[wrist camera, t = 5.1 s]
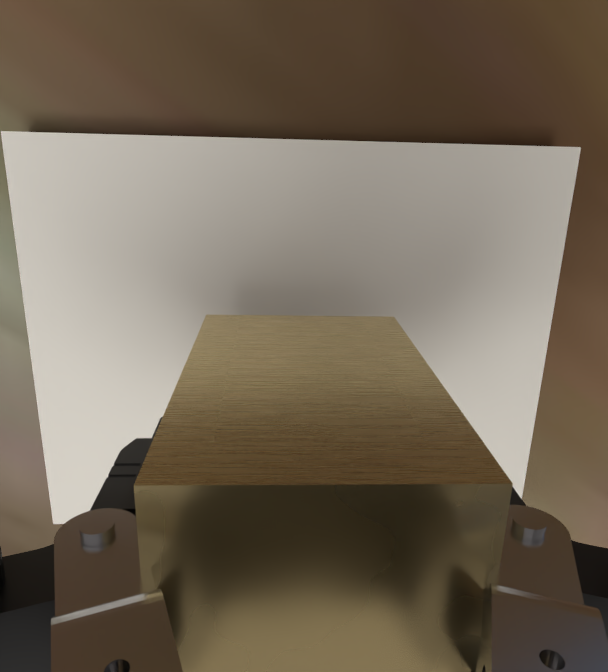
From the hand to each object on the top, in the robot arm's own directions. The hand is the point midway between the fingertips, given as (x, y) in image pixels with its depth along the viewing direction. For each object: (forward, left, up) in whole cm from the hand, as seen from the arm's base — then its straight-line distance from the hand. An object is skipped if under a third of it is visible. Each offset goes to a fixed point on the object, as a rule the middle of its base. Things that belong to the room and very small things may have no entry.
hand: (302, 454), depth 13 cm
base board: (0, 0, -9) cm, 9 cm away
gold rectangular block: (0, 0, -3) cm, 3 cm away
